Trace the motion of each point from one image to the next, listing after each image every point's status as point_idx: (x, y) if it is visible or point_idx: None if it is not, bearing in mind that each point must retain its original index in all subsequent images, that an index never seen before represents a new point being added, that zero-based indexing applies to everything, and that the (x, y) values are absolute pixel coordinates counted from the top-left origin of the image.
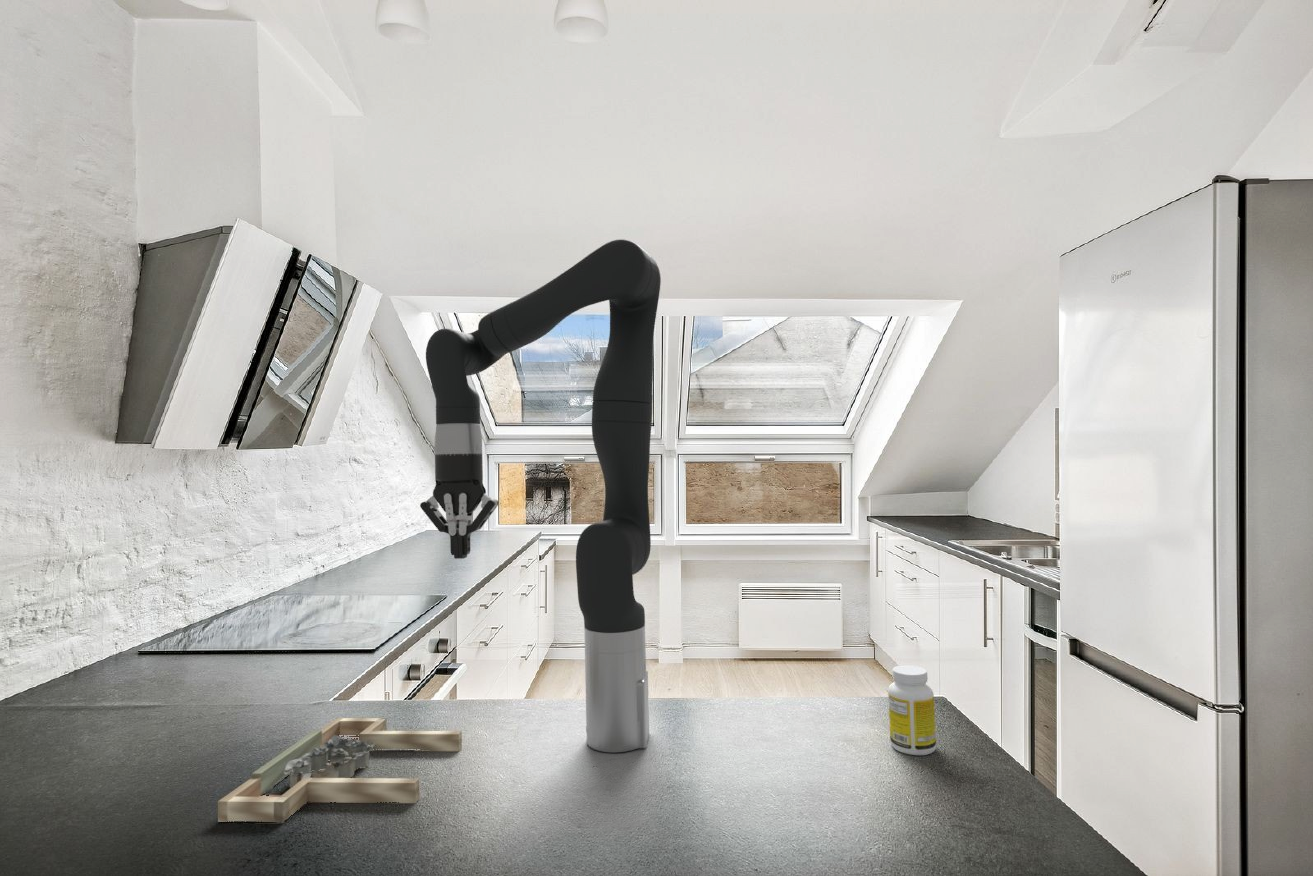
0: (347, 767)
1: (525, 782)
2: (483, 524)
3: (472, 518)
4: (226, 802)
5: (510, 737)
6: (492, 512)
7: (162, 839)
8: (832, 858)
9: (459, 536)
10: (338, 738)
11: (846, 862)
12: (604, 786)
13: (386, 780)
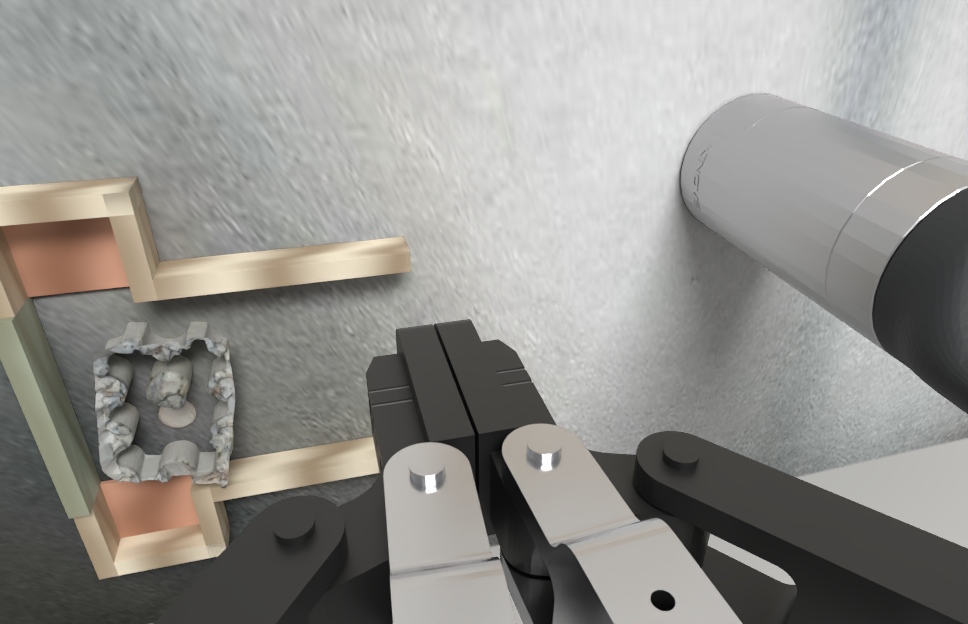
0: (222, 410)
1: (580, 352)
2: (750, 471)
3: (657, 524)
4: (117, 574)
5: (500, 164)
6: (955, 548)
7: (60, 596)
8: (923, 439)
9: (491, 531)
10: (110, 350)
11: (932, 442)
12: (708, 343)
13: (365, 468)
